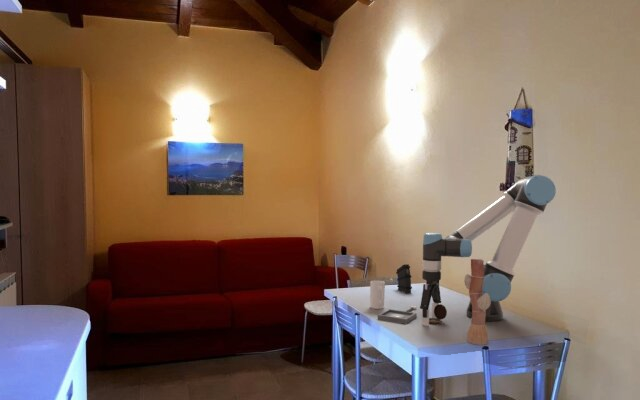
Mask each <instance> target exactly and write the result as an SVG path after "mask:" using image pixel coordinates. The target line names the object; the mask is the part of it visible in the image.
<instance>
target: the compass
mask: <svg viewBox="0 0 640 400" xmlns="http://www.w3.org/2000/svg"><path fill="white" fill-rule="evenodd" d="M434 314H435V316H436V318H432V317H429V325H444V324H445V323H444V322H443V321H442V320H444V319H446V317H447V314H448V311H447V308H446V307H445V305H444V304H442V303H439V305H436V306H435V308H434Z"/></svg>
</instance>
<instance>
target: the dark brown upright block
mask: <svg viewBox="0 0 640 400" xmlns="http://www.w3.org/2000/svg"><path fill="white" fill-rule="evenodd" d="M410 269H411V266H410V265H409V264H402V265H401V266H400V267H398V268H397V269H396V272H395V274H396V276H397V279H396V281H397V285H396V286H397V290H398V291H400V292H402V291H403V293H404V292H405V293H404V294H411V293H412V289H413V286H412V279H411V278H412V275H411V271H410Z"/></svg>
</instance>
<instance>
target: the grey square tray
mask: <svg viewBox="0 0 640 400" xmlns="http://www.w3.org/2000/svg"><path fill="white" fill-rule="evenodd" d="M406 311H407V310H397V309H391V308H389V309H387V310H385V311H383V312H381V313H379V314H377V320H381V321H385V322H387V321H388V322H393V323H398V322H399V323H400V324H405V325H406V324H408V323H410V322H411V321H413V320H414V319H416V318H417V314H418V313H417V312H411V311H409V312H406ZM399 323H398V324H399Z"/></svg>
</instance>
